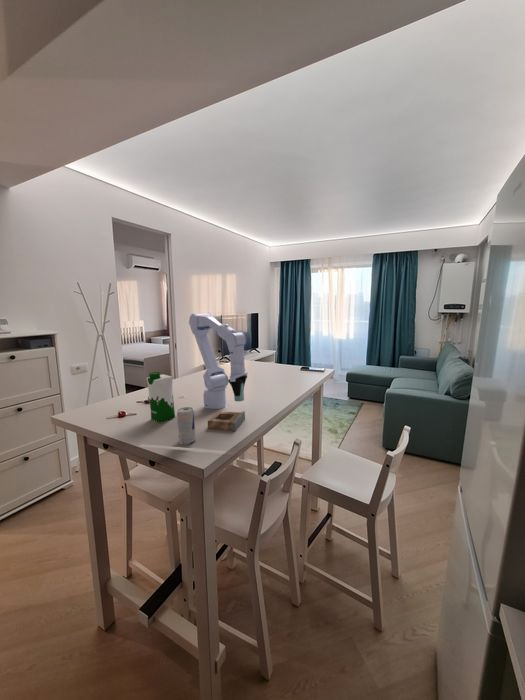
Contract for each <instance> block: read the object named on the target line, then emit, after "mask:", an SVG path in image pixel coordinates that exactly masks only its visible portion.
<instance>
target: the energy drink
mask: <svg viewBox="0 0 525 700" xmlns="http://www.w3.org/2000/svg"><path fill="white" fill-rule="evenodd" d="M176 416H177V417H176V418H177V428H178V430H177V431H178V441H179V444H180V445H183V446H186V445H187V446H188V445H191V444H193V443H195V442H196V441H197V440H196V430H195V429H196V426H195V413H194V409H193V408H192V407H190V406H187V407H186V406H185V407H180V408H179V409H177V412H176Z"/></svg>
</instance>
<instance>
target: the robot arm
mask: <svg viewBox="0 0 525 700" xmlns="http://www.w3.org/2000/svg"><path fill="white" fill-rule="evenodd" d="M188 325H189V326H190V330H191V332H192V335H194V338H195V340H196V343H197V346H198V349H199V352H200V355H201V357H202V360H203V361H202V362H203V363H204V365H205V366H204V367H205V369H206V371H205V372H204V374H203V376H202V377H203V381H204V382H203V383H204V386H205V389H204V391H203V409H214V410H220V409H225V408H226V407H228V406H230V403H227V397H226V396H227V395H226V389H227V386H228V385H230V386H231V389H232V393H233V394H234V395H233V396H240V392H241V384H242V383H243V386H244V387H245V385H246V382H247V378H248V373H249V372H247V371H246V366H245V347H244V346H246V344H247V339H248V338H247V336H246V334H245V332H243V331H237V330H236V329H235V328H232V327H231V326H230V324H228V323H221V322H220V321H218V319H217V318H215V316H214V314H212V313H210V312H206V313H191V314H190V316H189V321H188ZM212 329H213V330H215V331H216V333H217V335H218V337H220V338H221V339H223V340H224V341H225V342H226V345H227V348H228V349H227V350H228V351H229V362H230V364H229V365H230V376H228V375H227V373H226V372H225V369H224V368H223V367H220V366H219V365H218V363H217V362H218V361H217V360H216V357H215V354H214V352H213V349H212V346H211V343H210V341H209V338H208V336H207V335H208V333H210V332H211V330H212Z"/></svg>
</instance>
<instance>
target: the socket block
mask: <svg viewBox="0 0 525 700" xmlns="http://www.w3.org/2000/svg"><path fill="white" fill-rule="evenodd" d="M240 414H241V412H236V411H235V412H234V411H219V410H218V411H217V412H215V413H214V414H213V415H212V416H211V417H210V418H209V419H207V429H213V430H214V429H215V430H226V431H233V424H232V423H233V422H234V421H235V419H236V418H237V417H238V416H239V415H240Z"/></svg>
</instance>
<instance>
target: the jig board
mask: <svg viewBox="0 0 525 700" xmlns="http://www.w3.org/2000/svg"><path fill="white" fill-rule="evenodd" d="M240 413H241V414H240V415H239V416H238V417H237V418H236V419H235V421H234V422H233V423H232V424H233V430H232V432H234V433H236V431H237V430H238V429H239V428H240V426H241V425H242V424H243V423H244V421H245V420H246V411H241V412H240Z"/></svg>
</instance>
